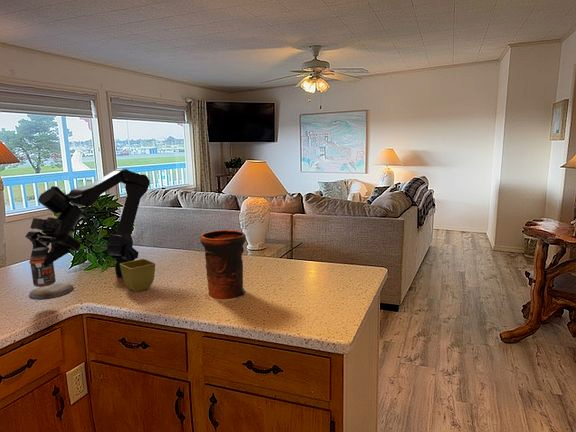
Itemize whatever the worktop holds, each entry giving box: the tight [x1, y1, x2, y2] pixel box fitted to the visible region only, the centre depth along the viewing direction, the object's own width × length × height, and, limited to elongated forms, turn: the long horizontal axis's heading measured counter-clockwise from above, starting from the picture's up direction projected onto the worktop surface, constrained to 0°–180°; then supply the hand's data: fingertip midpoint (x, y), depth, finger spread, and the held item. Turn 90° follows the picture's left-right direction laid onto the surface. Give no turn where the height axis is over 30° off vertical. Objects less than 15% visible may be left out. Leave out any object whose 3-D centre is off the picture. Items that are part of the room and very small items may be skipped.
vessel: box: [199, 229, 247, 302], centre depth 131 cm, size 14×14×20 cm
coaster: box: [28, 282, 74, 300], centre depth 137 cm, size 13×13×1 cm
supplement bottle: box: [29, 246, 57, 288], centre depth 124 cm, size 6×6×11 cm
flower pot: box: [120, 258, 156, 293], centre depth 138 cm, size 9×9×9 cm
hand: (37, 264), depth 123 cm, fingers closed on supplement bottle, 6 cm apart
